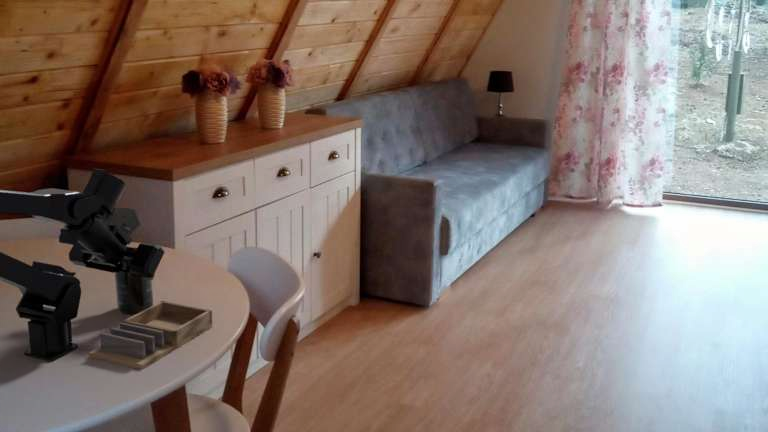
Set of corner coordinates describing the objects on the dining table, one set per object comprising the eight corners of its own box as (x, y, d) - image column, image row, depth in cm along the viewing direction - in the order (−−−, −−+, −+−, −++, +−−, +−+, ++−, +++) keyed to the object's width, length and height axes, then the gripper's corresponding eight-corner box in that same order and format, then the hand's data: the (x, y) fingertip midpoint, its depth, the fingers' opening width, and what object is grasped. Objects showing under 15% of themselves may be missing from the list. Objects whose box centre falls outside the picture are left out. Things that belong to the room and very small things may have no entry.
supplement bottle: (140, 300, 168) (136, 243, 165) (160, 308, 164) (157, 250, 161) (110, 309, 163) (106, 250, 160) (130, 318, 159) (126, 258, 155)
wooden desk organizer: (142, 369, 138) (141, 348, 137) (89, 356, 142) (87, 336, 141) (212, 326, 155) (211, 307, 154) (163, 317, 160) (162, 298, 159)
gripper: (155, 203, 150) (194, 246, 163) (74, 192, 157) (117, 233, 170) (128, 257, 145) (170, 296, 158) (46, 242, 152) (93, 281, 165)
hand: (138, 275), depth 163 cm, fingers closed on supplement bottle, 7 cm apart
